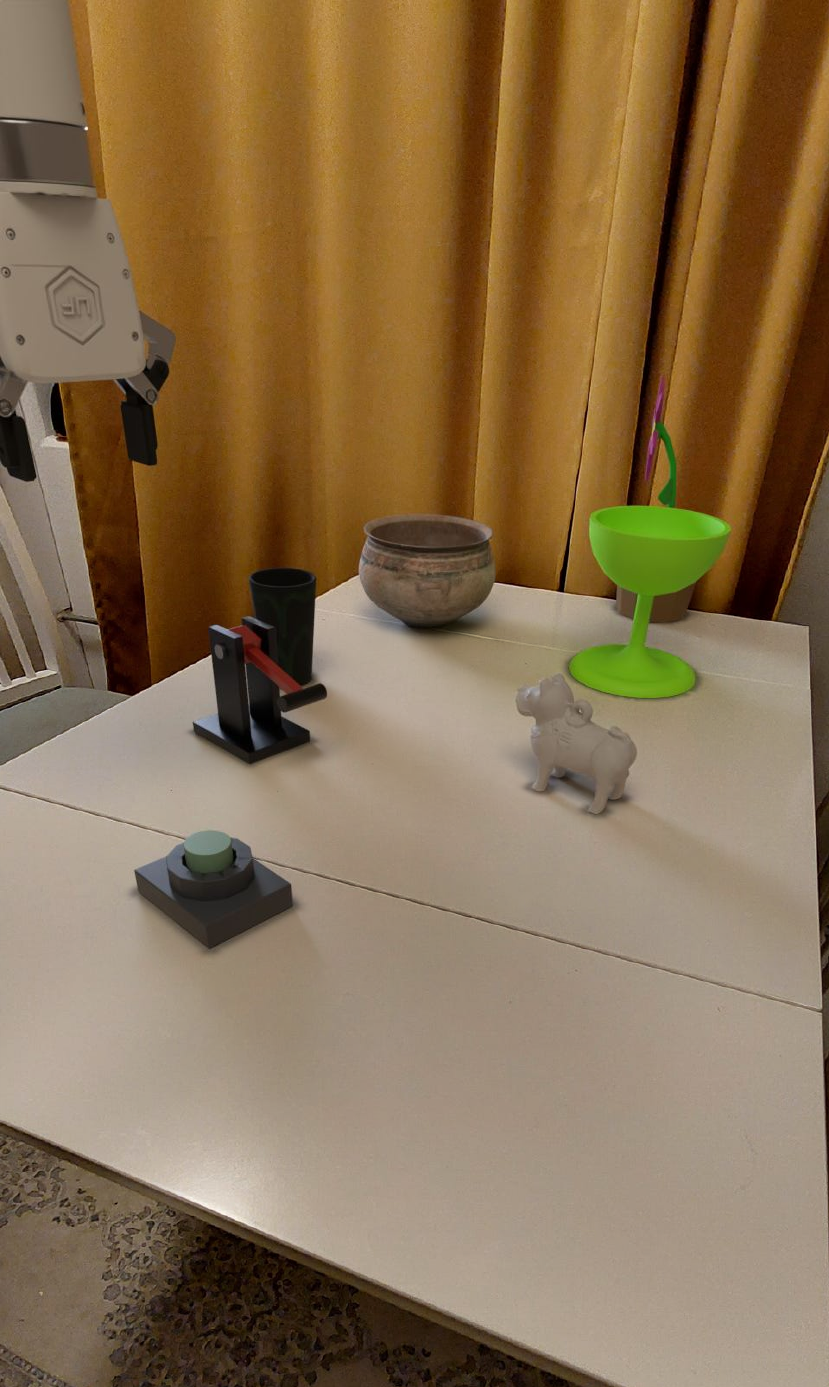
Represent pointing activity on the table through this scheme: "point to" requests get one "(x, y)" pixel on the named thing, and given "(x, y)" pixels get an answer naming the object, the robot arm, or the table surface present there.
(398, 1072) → the table surface
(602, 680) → the wineglass
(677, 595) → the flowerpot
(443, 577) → the cooking pot
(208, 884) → the base
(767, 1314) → the table surface
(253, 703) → the black lever stand
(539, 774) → the dog figurine
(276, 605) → the cup
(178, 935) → the table surface
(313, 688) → the lever handle
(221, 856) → the power button
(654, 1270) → the table surface
